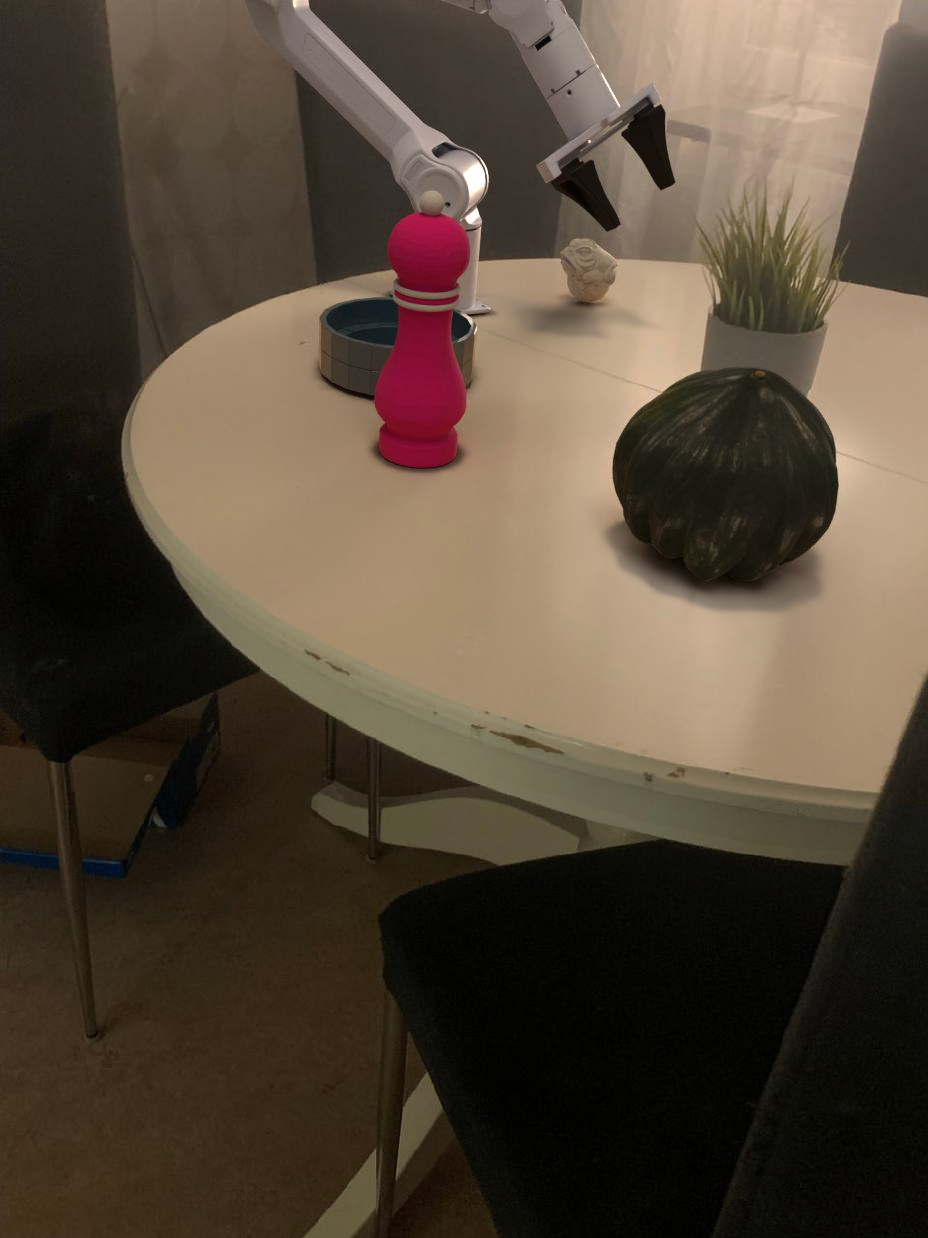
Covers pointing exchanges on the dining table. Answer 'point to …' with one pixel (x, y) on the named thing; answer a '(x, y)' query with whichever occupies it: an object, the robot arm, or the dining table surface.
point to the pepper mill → (423, 340)
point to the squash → (728, 473)
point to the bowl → (376, 341)
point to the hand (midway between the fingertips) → (641, 207)
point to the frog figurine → (588, 269)
